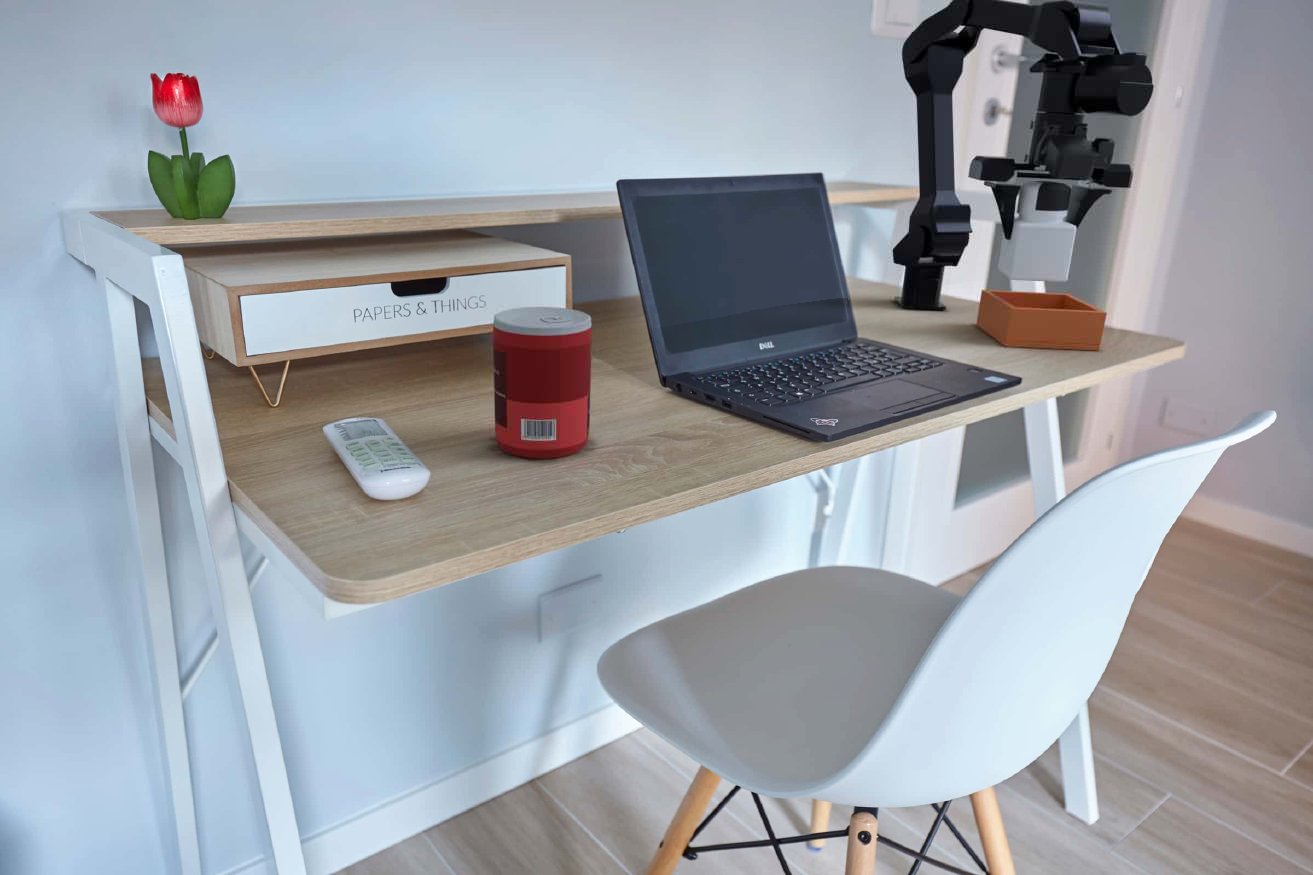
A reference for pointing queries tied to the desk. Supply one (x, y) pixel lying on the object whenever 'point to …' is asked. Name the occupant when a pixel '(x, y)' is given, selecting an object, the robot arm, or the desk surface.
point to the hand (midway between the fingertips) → (1036, 241)
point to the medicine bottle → (1039, 235)
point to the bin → (1040, 320)
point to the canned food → (542, 381)
